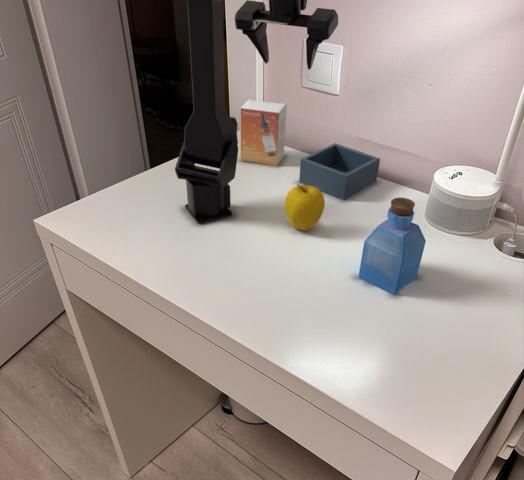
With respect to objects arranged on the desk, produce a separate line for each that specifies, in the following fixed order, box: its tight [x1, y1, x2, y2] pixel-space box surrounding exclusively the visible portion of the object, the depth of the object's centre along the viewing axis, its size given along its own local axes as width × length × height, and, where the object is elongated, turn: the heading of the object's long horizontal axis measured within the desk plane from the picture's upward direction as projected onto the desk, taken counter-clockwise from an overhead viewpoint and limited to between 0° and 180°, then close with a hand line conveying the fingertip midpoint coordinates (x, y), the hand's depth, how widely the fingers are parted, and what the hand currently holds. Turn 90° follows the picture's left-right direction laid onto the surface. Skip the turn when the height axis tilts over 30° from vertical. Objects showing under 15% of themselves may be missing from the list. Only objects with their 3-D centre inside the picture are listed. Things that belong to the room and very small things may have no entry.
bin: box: [298, 142, 381, 201], centre depth 101 cm, size 11×11×5 cm
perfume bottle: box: [358, 197, 427, 296], centre depth 75 cm, size 6×6×12 cm
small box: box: [239, 99, 288, 167], centre depth 107 cm, size 8×6×10 cm
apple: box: [284, 183, 326, 231], centre depth 87 cm, size 6×6×8 cm
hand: (288, 65), depth 106 cm, fingers open, 9 cm apart
